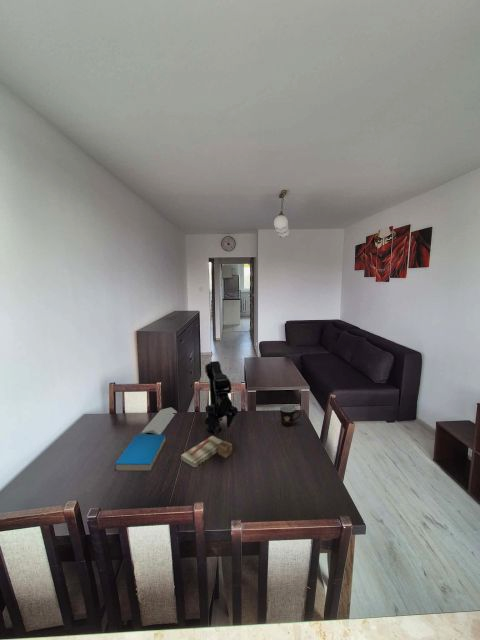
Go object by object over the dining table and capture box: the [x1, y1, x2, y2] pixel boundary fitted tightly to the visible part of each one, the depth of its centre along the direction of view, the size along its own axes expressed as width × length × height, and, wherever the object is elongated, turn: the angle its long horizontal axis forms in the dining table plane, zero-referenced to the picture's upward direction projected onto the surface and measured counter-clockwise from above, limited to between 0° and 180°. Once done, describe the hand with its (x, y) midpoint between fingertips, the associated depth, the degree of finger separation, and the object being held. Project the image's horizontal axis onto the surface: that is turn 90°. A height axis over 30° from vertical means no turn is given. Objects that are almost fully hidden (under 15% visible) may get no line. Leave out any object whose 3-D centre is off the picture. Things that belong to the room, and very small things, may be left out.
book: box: [114, 433, 167, 472], centre depth 141 cm, size 17×4×25 cm
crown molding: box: [139, 407, 178, 435], centre depth 174 cm, size 29×12×4 cm, turn 174°
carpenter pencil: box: [190, 439, 209, 455], centre depth 142 cm, size 14×1×1 cm, turn 149°
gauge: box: [217, 440, 233, 459], centre depth 141 cm, size 5×5×6 cm
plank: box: [180, 435, 225, 468], centre depth 142 cm, size 22×10×2 cm, turn 141°
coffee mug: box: [279, 405, 301, 428], centre depth 168 cm, size 12×9×10 cm
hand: (222, 431), depth 139 cm, fingers open, 9 cm apart
